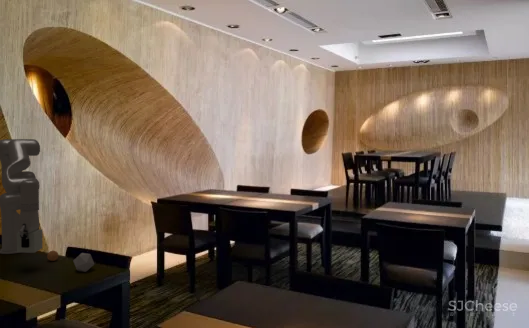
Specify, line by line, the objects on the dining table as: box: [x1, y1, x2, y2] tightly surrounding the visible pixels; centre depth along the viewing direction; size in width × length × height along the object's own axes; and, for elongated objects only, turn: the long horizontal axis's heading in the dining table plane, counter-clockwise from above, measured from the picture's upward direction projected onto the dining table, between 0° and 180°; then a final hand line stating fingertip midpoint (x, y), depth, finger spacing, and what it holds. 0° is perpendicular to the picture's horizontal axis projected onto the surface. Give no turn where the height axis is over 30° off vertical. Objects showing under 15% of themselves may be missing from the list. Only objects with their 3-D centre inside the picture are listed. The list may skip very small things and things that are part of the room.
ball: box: [46, 250, 59, 262], centre depth 218 cm, size 5×5×5 cm
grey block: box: [17, 228, 43, 254], centre depth 202 cm, size 8×8×9 cm
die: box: [72, 252, 95, 273], centre depth 203 cm, size 8×9×10 cm
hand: (29, 244), depth 202 cm, fingers closed on grey block, 7 cm apart
